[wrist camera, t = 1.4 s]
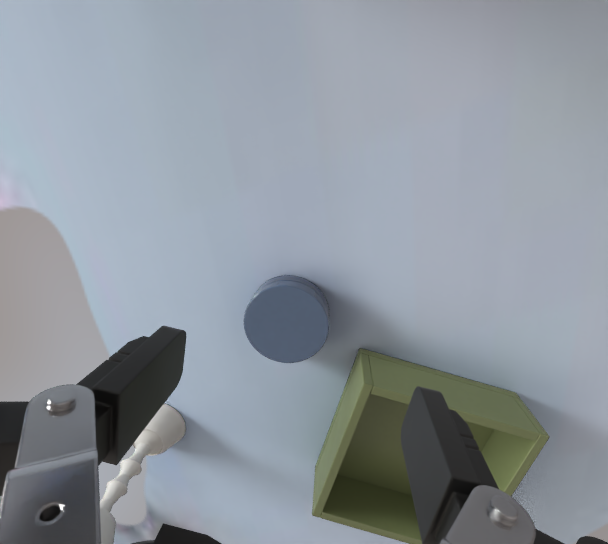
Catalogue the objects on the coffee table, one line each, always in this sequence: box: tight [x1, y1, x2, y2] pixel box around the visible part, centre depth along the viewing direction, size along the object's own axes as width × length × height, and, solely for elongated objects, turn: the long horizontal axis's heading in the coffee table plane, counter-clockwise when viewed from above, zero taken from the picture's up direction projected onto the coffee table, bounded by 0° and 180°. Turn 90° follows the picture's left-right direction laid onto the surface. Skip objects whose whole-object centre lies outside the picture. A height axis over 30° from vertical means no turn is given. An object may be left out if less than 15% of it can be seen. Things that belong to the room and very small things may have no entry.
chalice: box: [100, 404, 186, 544], centre depth 24 cm, size 7×7×18 cm
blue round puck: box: [244, 275, 329, 363], centre depth 27 cm, size 6×6×2 cm
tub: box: [312, 348, 549, 544], centre depth 28 cm, size 13×13×5 cm
